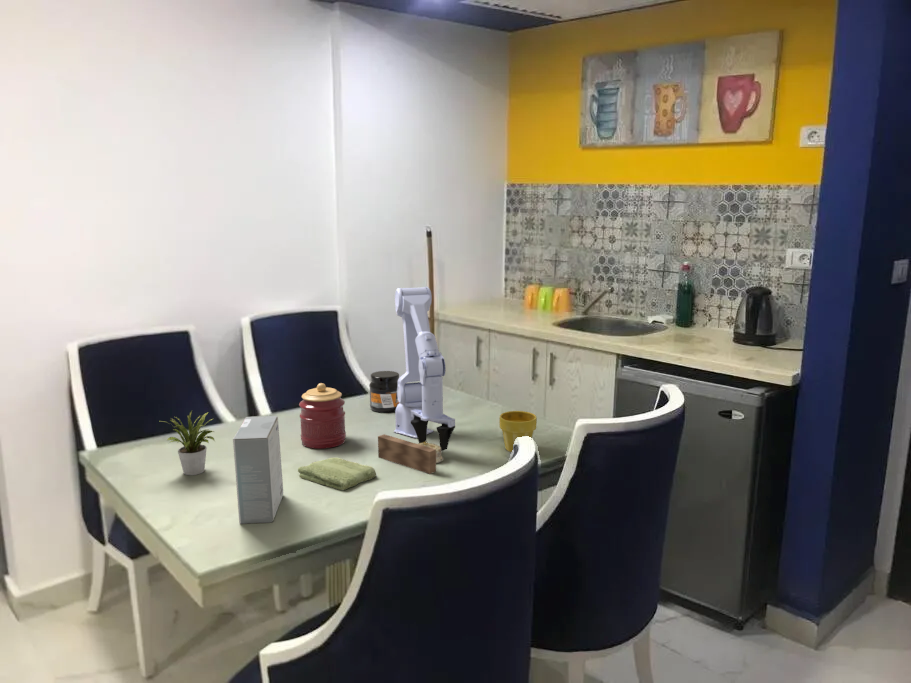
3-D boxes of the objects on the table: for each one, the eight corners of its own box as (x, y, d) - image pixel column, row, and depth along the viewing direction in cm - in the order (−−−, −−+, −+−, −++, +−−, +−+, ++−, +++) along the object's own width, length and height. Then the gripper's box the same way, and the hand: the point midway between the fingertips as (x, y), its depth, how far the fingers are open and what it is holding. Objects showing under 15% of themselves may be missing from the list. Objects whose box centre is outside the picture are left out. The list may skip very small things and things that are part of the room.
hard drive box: (251, 495, 176) (246, 416, 172) (283, 494, 176) (279, 415, 172) (238, 524, 160) (232, 437, 156) (273, 523, 161) (268, 436, 157)
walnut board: (378, 457, 201) (377, 436, 200) (384, 454, 202) (384, 434, 201) (429, 474, 189) (429, 451, 187) (436, 471, 190) (435, 449, 189)
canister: (315, 452, 204) (313, 391, 201) (292, 441, 214) (289, 382, 210) (354, 442, 213) (353, 383, 209) (331, 431, 222) (328, 375, 219)
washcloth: (332, 463, 198) (331, 451, 197) (379, 478, 187) (379, 466, 187) (294, 477, 188) (293, 465, 187) (341, 494, 177) (341, 482, 177)
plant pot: (534, 456, 201) (534, 422, 199) (496, 454, 203) (497, 420, 201) (537, 444, 211) (538, 411, 209) (502, 442, 213) (502, 409, 211)
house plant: (163, 487, 181) (157, 424, 177) (157, 469, 193) (151, 409, 190) (222, 477, 187) (218, 415, 184) (213, 459, 199) (209, 402, 196)
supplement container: (388, 415, 239) (387, 379, 236) (363, 410, 244) (362, 375, 242) (407, 407, 247) (407, 372, 245) (383, 402, 253) (382, 368, 251)
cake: (406, 455, 204) (406, 436, 203) (442, 454, 205) (442, 436, 204) (407, 465, 194) (407, 445, 193) (444, 465, 195) (444, 445, 194)
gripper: (403, 398, 202) (404, 444, 205) (443, 407, 193) (443, 456, 196) (420, 392, 207) (421, 438, 210) (459, 401, 198) (460, 449, 201)
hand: (433, 446), depth 203 cm, fingers open, 7 cm apart
